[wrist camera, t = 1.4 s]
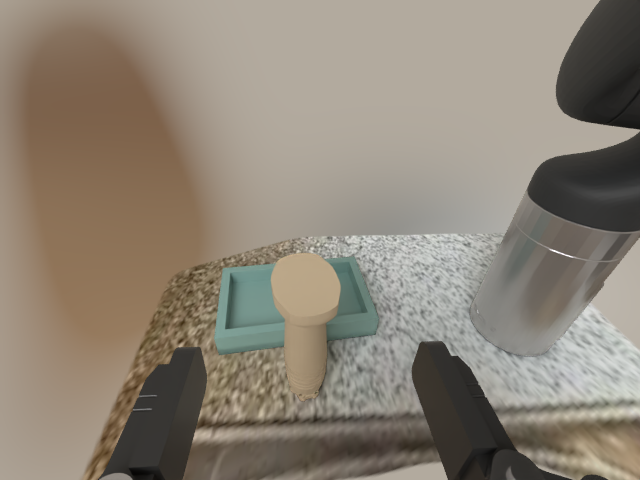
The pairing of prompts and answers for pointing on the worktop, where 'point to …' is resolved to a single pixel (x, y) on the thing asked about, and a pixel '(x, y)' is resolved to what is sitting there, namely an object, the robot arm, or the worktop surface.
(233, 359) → the worktop surface
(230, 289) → the tray
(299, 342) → the handle
